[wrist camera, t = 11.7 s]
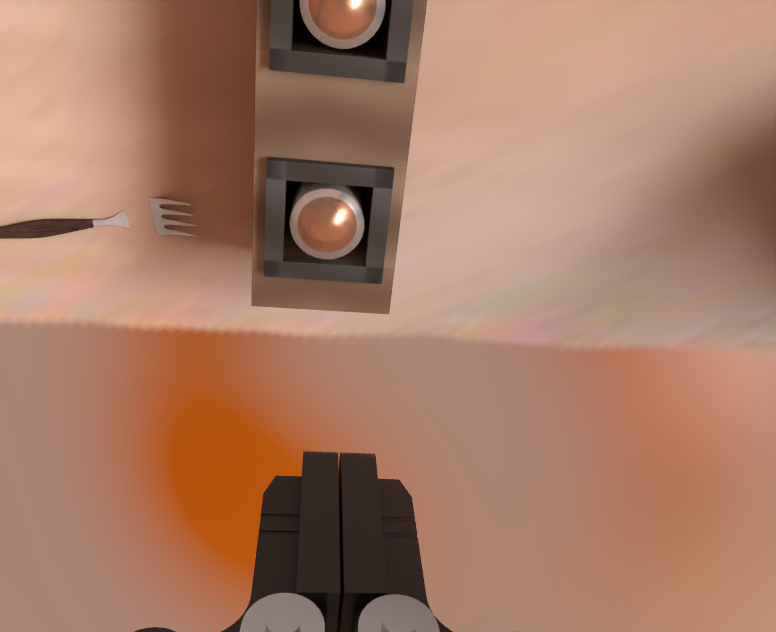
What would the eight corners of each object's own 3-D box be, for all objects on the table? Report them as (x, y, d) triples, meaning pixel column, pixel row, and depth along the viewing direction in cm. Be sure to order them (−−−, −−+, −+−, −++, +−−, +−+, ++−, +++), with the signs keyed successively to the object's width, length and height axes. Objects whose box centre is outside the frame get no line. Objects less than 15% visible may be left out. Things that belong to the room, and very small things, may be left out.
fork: (-52, 215, 45) (-68, 226, 43) (196, 191, 45) (190, 201, 44) (-37, 252, 46) (-52, 265, 44) (204, 228, 47) (199, 239, 45)
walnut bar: (272, -131, 37) (258, -149, 30) (421, -111, 38) (443, -124, 30) (263, 251, 47) (250, 310, 40) (380, 259, 48) (389, 318, 41)
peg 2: (297, 148, 43) (291, 186, 36) (361, 153, 44) (367, 192, 37) (294, 209, 45) (288, 256, 38) (356, 214, 45) (360, 261, 39)
